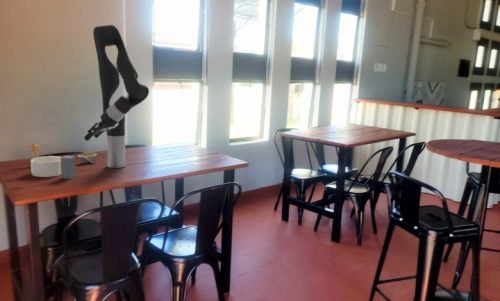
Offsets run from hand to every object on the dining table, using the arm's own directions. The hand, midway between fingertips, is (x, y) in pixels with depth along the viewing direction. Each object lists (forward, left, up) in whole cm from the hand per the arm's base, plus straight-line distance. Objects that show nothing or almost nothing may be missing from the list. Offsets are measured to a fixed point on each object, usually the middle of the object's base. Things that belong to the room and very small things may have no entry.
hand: (90, 137), depth 179 cm
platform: (-29, -17, -21) cm, 39 cm away
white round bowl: (-4, -25, -20) cm, 32 cm away
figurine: (-15, -39, -20) cm, 46 cm away
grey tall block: (0, -12, -20) cm, 23 cm away
